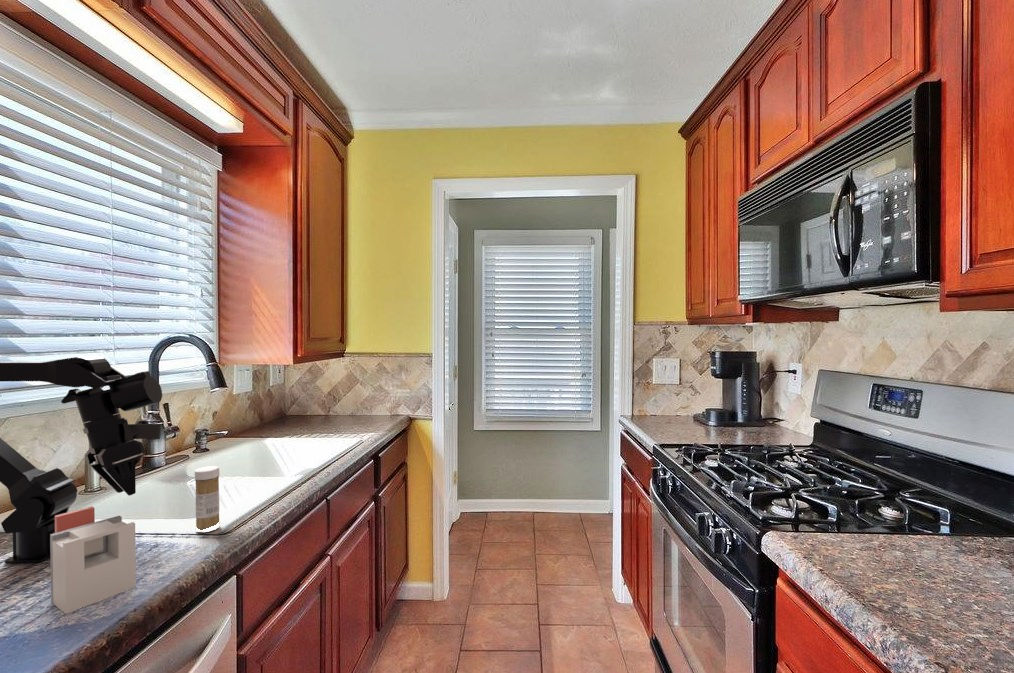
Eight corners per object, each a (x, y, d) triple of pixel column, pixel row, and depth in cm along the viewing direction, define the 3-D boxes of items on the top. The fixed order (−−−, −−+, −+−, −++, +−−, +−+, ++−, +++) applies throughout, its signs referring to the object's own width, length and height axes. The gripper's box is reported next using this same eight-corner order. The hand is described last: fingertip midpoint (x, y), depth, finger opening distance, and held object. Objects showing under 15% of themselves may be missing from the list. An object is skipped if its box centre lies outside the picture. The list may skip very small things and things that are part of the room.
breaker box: (51, 601, 75) (50, 534, 75) (119, 576, 83) (119, 515, 83) (65, 614, 72) (64, 543, 72) (135, 586, 80) (135, 523, 80)
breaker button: (55, 554, 80) (54, 515, 80) (92, 542, 84) (92, 506, 84) (72, 566, 76) (72, 525, 76) (111, 553, 80) (111, 515, 80)
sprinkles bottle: (218, 523, 106) (217, 463, 106) (221, 530, 102) (221, 468, 102) (193, 529, 103) (193, 467, 103) (196, 536, 99) (195, 472, 99)
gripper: (163, 401, 93) (187, 476, 94) (139, 407, 105) (161, 474, 106) (90, 421, 85) (117, 504, 86) (73, 425, 97) (97, 497, 98)
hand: (126, 493), depth 94 cm, fingers open, 9 cm apart
